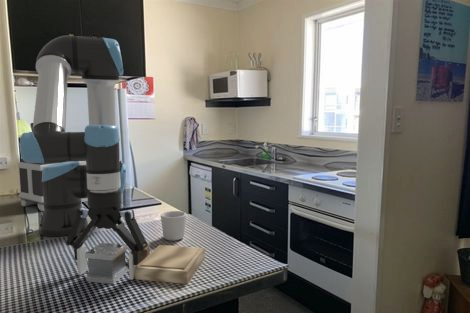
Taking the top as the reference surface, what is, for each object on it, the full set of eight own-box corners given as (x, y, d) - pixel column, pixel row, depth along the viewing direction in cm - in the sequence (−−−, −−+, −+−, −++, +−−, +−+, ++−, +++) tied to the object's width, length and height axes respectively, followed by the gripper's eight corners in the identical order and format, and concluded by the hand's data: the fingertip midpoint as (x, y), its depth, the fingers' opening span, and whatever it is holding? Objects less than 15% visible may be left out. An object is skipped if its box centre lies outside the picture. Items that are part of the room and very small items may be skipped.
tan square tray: (135, 279, 84) (135, 266, 84) (160, 255, 99) (159, 243, 98) (187, 283, 82) (187, 270, 81) (204, 258, 96) (204, 247, 96)
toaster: (111, 196, 173) (110, 154, 170) (42, 212, 144) (39, 161, 142) (89, 192, 183) (87, 152, 180) (19, 206, 154) (16, 158, 152)
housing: (86, 281, 83) (85, 251, 82) (102, 269, 90) (101, 241, 89) (113, 284, 82) (112, 253, 81) (128, 271, 89) (127, 243, 88)
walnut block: (132, 264, 93) (131, 249, 93) (135, 258, 97) (134, 244, 96) (147, 264, 93) (147, 249, 93) (149, 258, 97) (149, 244, 97)
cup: (163, 231, 119) (163, 208, 118) (187, 231, 120) (187, 208, 119) (159, 243, 109) (159, 217, 108) (185, 242, 109) (185, 217, 108)
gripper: (46, 190, 82) (52, 277, 85) (146, 195, 78) (149, 286, 80) (67, 184, 90) (71, 264, 92) (159, 188, 85) (161, 272, 87)
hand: (107, 274), depth 86 cm, fingers open, 13 cm apart
